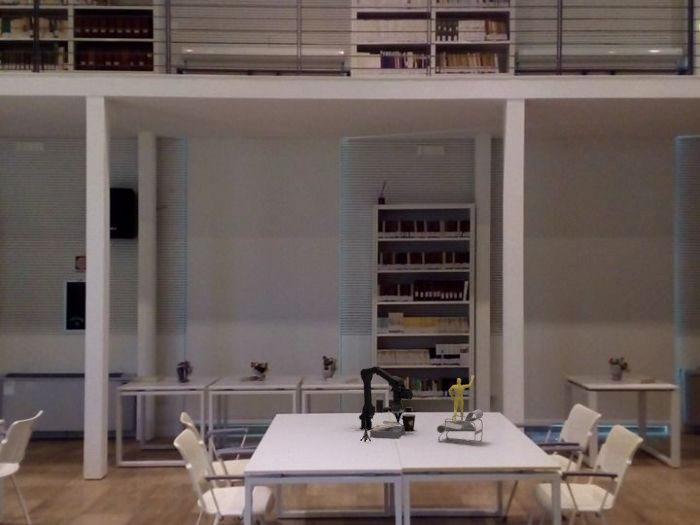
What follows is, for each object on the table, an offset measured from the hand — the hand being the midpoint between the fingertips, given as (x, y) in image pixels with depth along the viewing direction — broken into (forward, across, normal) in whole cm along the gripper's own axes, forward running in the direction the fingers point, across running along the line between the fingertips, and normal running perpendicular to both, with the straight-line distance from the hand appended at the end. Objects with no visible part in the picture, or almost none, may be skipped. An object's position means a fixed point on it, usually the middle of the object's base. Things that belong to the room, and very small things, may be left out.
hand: (398, 423), depth 514 cm
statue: (+8, +36, +26) cm, 45 cm away
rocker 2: (0, -5, -14) cm, 15 cm away
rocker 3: (0, -4, 0) cm, 5 cm away
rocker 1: (0, -5, -7) cm, 8 cm away
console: (+6, -6, -7) cm, 11 cm away
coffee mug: (+7, +3, +11) cm, 13 cm away
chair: (+8, +41, -19) cm, 46 cm away
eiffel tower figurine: (+7, -16, -29) cm, 34 cm away
